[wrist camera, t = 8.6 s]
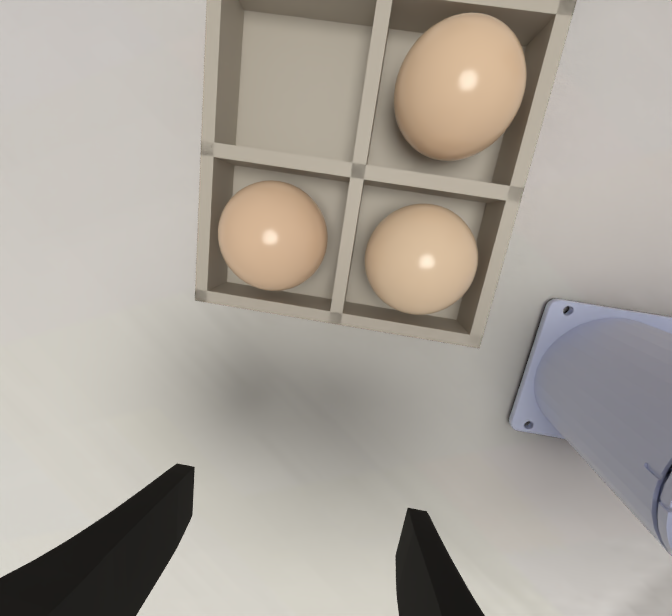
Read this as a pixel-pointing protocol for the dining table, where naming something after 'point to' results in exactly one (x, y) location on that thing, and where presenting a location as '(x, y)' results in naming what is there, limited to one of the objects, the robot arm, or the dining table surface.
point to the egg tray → (356, 146)
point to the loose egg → (460, 86)
